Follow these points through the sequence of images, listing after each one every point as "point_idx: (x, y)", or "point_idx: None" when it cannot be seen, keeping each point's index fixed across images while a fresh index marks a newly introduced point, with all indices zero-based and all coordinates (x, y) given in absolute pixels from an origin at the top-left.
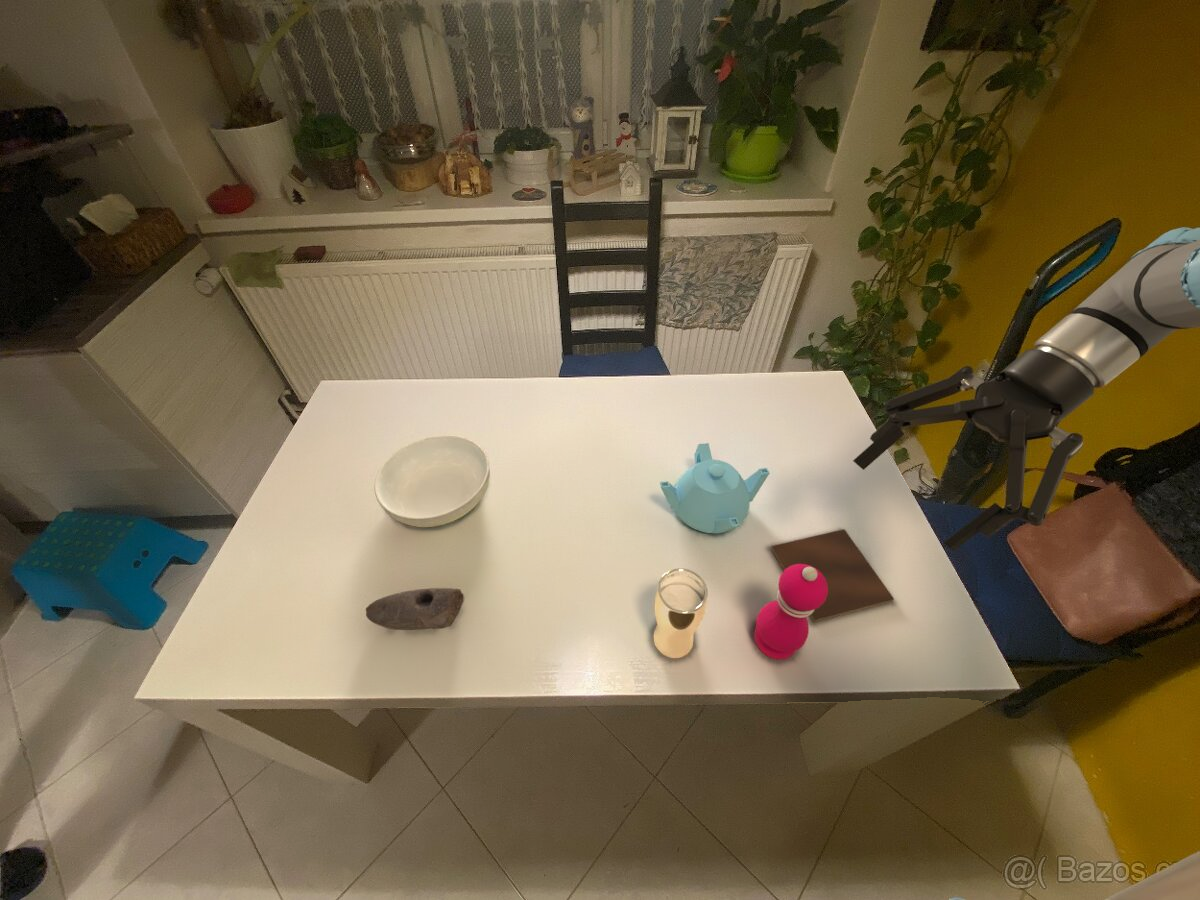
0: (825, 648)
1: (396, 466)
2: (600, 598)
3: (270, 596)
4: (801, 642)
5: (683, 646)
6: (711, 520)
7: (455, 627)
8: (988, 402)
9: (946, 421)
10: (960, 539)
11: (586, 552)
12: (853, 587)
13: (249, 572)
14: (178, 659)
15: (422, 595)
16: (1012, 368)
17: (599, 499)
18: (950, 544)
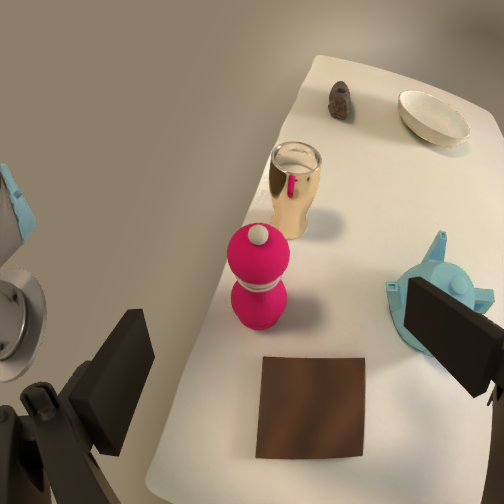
0: (232, 353)
1: (441, 108)
2: (338, 187)
3: (358, 74)
4: (232, 299)
5: (273, 215)
6: (402, 284)
7: (330, 118)
8: None
9: (484, 491)
10: (118, 324)
11: (382, 191)
12: (285, 423)
13: (371, 71)
14: (330, 58)
15: (344, 91)
16: None
17: (436, 217)
18: (128, 312)
